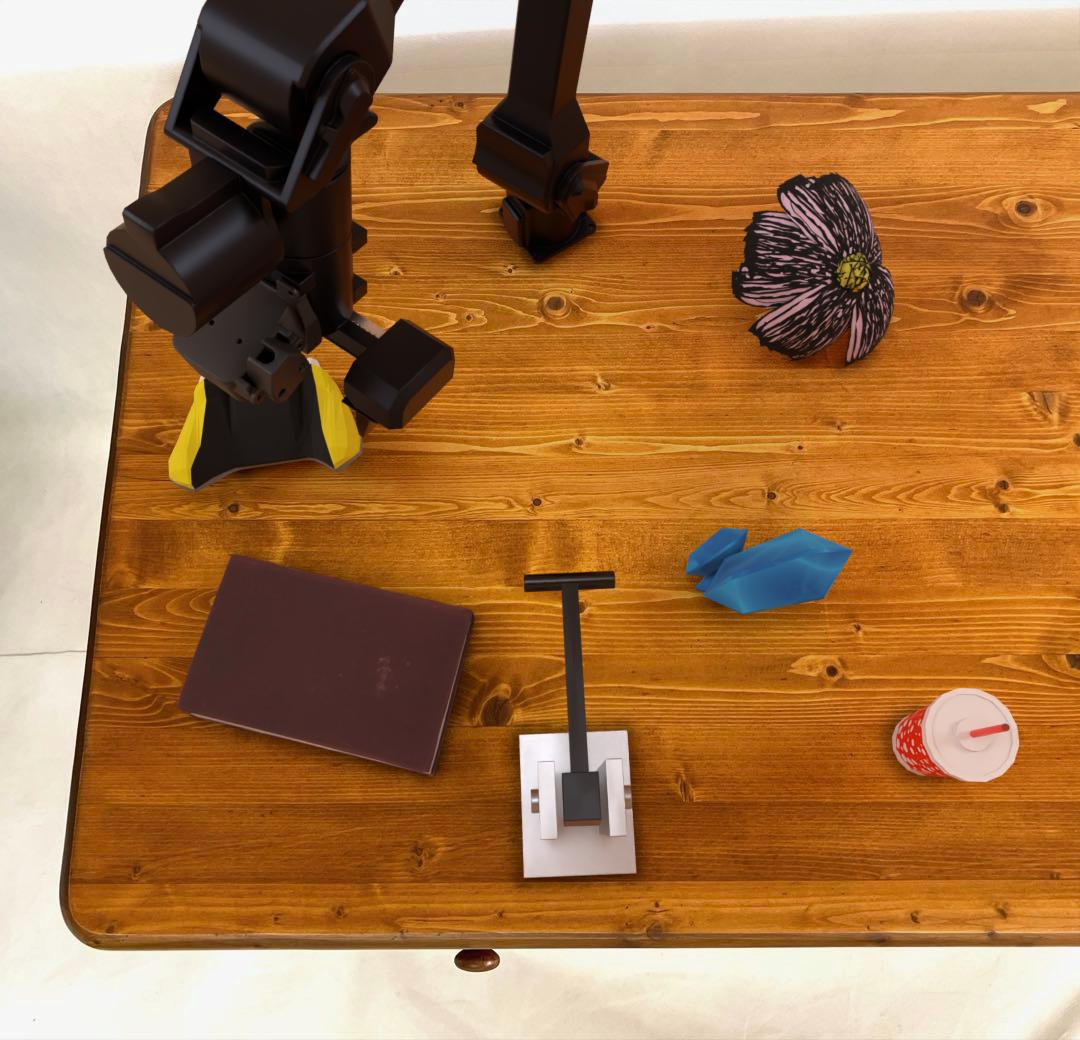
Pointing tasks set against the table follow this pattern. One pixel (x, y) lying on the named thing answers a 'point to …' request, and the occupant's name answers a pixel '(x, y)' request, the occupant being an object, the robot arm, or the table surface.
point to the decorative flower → (816, 271)
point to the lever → (575, 692)
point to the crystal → (766, 569)
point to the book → (329, 664)
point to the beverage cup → (958, 737)
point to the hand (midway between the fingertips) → (312, 396)
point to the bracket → (542, 808)
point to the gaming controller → (264, 431)
